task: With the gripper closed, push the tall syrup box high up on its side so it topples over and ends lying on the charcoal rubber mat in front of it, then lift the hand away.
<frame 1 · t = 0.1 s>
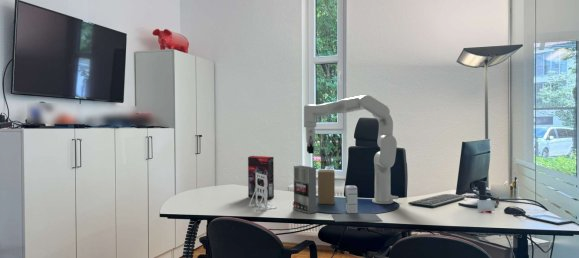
hand: (310, 152, 244), 31 cm above the table, tool pointing down, fingers open, 9 cm apart
block: (326, 203, 246), on the table
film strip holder: (262, 207, 234), on the table
graphics card box: (260, 197, 262), on the table
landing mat: (356, 218, 209), on the table
syrup box: (351, 212, 222), on the table
grey labelled carton: (304, 211, 225), on the table
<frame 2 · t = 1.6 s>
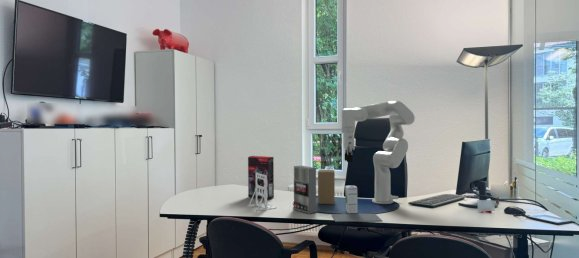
hand: (348, 160, 230), 28 cm above the table, tool pointing down, fingers open, 6 cm apart
nothing on the table moved.
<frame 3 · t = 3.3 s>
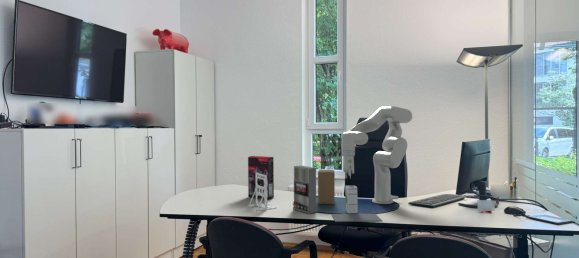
hand: (347, 185, 230), 14 cm above the table, tool pointing down, fingers closed
nothing on the table moved.
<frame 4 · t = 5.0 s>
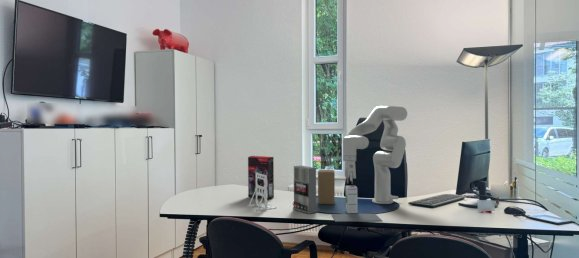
hand: (349, 190, 226), 11 cm above the table, tool pointing down, fingers closed
nothing on the table moved.
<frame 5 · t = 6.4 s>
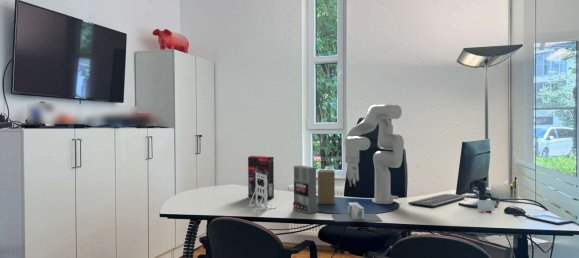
hand: (352, 193, 218), 11 cm above the table, tool pointing down, fingers closed
syrup box: (352, 207, 219), point 3 cm above the table, touching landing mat
everything else where it was.
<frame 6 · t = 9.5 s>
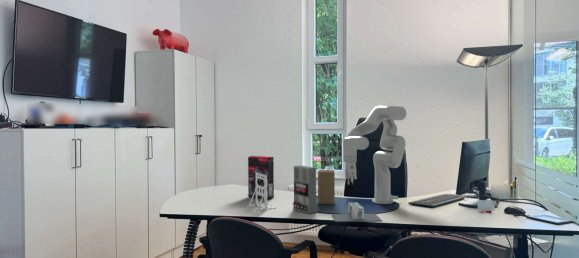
hand: (350, 191, 226), 11 cm above the table, tool pointing down, fingers closed
nothing on the table moved.
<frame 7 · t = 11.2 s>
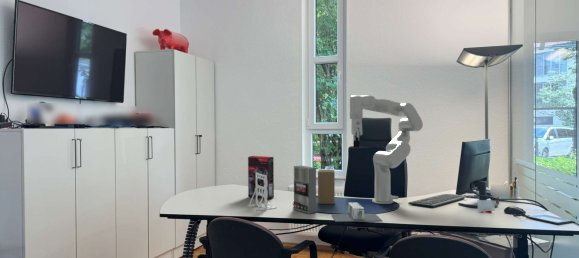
hand: (356, 147, 237), 35 cm above the table, tool pointing down, fingers closed
nothing on the table moved.
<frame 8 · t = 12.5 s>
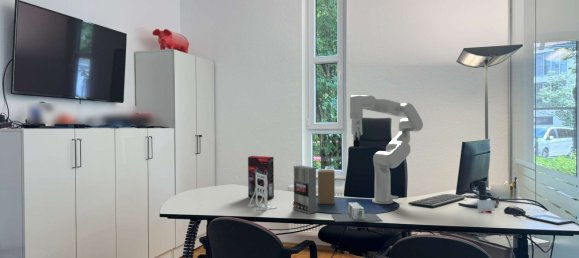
hand: (356, 146, 237), 35 cm above the table, tool pointing down, fingers closed
nothing on the table moved.
at the end: syrup box tilted 90°; syrup box touching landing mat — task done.
